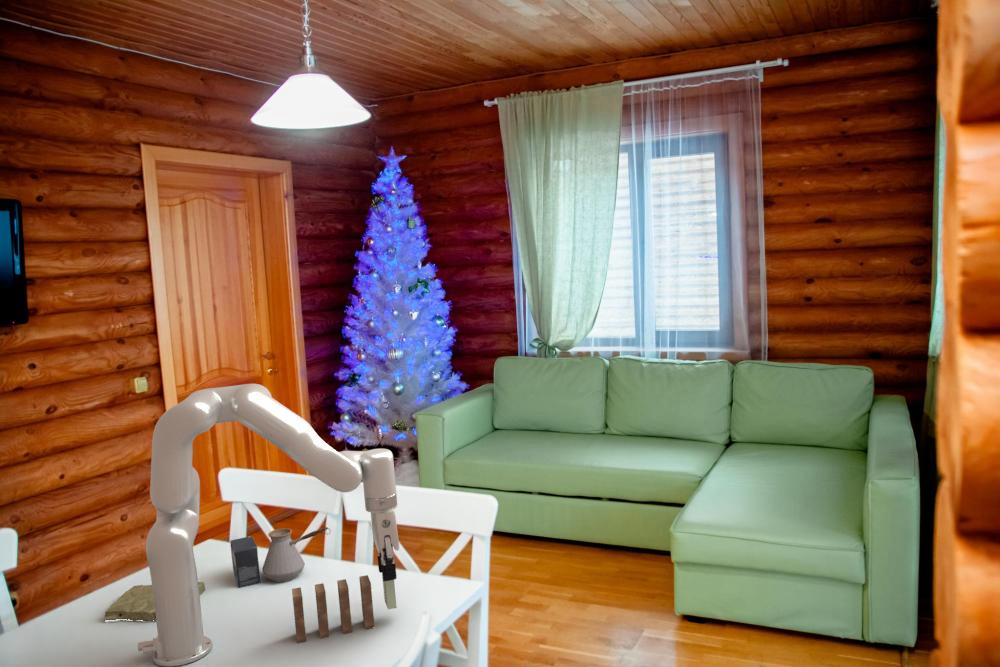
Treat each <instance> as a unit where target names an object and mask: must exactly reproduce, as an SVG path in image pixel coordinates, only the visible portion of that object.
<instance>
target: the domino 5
mask: <svg viewBox="0 0 1000 667" xmlns="http://www.w3.org/2000/svg"><path fill="white" fill-rule="evenodd" d="M382 564H383V563H382V558H381V565H382ZM382 584H383V585H382V586H383V597H384V598H383V599H384V603H385V606H386V607H387V608H386V609H387V610H388V611H389V610H392V609H396V608H397V597H396V587H395V580H389V581H383V580H382Z"/></svg>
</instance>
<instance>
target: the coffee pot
mask: <svg viewBox="0 0 1000 667" xmlns="http://www.w3.org/2000/svg"><path fill="white" fill-rule="evenodd" d="M327 530H329V533H327ZM323 532H325V535H330V534H331V528H329V527H328V526H325V527H323V528H319V529H318V530H314V531H311V532H310V533H307V534H305V535H303V536H301V537H298V538H296V539H294V540H293V539H292V537H291V535H292V534H293V530H292V529H291V528H285V527H284V528H276V529H273V530H272V531H270V532H268V534H267V535H268V537H269V538H270V540H271V541H270V544H269V548H268V551H267V553H266V556H265V560H264V563H263V566H262V573H263V575H264V577H266V578H267V579H269V580H270V581H271V582H272V583H273V582H274V583H284V582H289V581H292V580H294V579H296V578H297V577H299V575H300V574H301V573H302V572H303V570H304V568H305V561H304V559H303V557H302V555H301V553H300V552H299V550H298V548H297V547H296V545H295V544H297V543H298V542H301V541H304V540H306V539H310V538H312V537H315V536H316V535H318V534H322V533H323ZM298 574H299V575H298Z"/></svg>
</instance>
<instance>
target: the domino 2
mask: <svg viewBox="0 0 1000 667" xmlns="http://www.w3.org/2000/svg"><path fill="white" fill-rule="evenodd" d="M314 590H315V604H316V613H317V614H316V615H317V623H318V632H319V637H321V638H320V639H325V637H326V638H330V629H329V626H330V625H329V618H328V617H329V616H328V604H327V594H326V588H325V584H324V582H322V583H318V584H314Z"/></svg>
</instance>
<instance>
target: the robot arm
mask: <svg viewBox="0 0 1000 667" xmlns="http://www.w3.org/2000/svg"><path fill="white" fill-rule="evenodd" d="M230 422H239V423H240V424H242V425H243V426H244V427H246V428H247V429H249V430H250V431H252V432H254V433H255V434H256V435H259V436H260V437H261V438H262V439H264V440H266V441H267V442H269V443H270V444H272V445H273V446H275V447H276V448H277V449H279V450H280V451H282V452H284V454H286V455H287V456H288V457H289V458H290V459H291V460H292V461H294V462H295V463H296V464H298V465H299V466H300V467H301V468H303V469H304V470H305V471H306V472H308V474H310V475H312V476H313V477H314V478H315V479H317V480H318V481H320V482H322V483H323V484H325V486H328V487H330V488H331V489H333V490H335V491H337V492H340V493H351V492H352V491H353V492H354V490H356V489H357V488H358V487H360V485H361V484H362V483H363V484H362V485H363V495H364V497H363V498H364V504H365V511H366V512H368V513H370V518H371V520H370V521H371V530H372V537H373V541H374V542H373V543H374V545H375V547H376V549H377V566H378V567H377V568H378V572H379V573H381V575H382V582H383V581H389V580H394V581H395V580H396V579H397V568H396V561H395V554H394V553H395V552H394V551H400V543H399V542H400V541H399V534H398V532H399V531H398V525H397V519H396V514H395V513H396V512H395V509H396V508H398V497H397V485H396V474H395V462H394V454H393V452H392V451H391V450H390V449H388V448H373V449H369V450H362V451H361V450H342V451H337V450H336V449H334V447H332V446H330V445H329V444H328V443H326V442H325V441H324V439H322V438H321V437H320V436H319V435H318V433H317V432H316V431H315V429H314V428H313V427H312V425H311V424H310V423H309V422H308V421H307V420H305V419H304V418H303V417H302V416H299V414H296V412H294V411H292V410H291V409H289V408H288V407H286V406H285V405H284V404H282V403H280V402H279V401H278V400H276V399H275V398H273V397H272V394H271V392H270V391H269V390H268V388H267V387H266V386H264V385H262V384H258V383H244V384H239V385H238V384H237V385H228V386H221V387H220V386H219V387H211V388H204V389H199V390H196V391H193V392H192V393H190V395H188V396H187V397H186V398H185V399H184V400H182V401H180V402H179V403H177V404H175V405H173V406H172V407H170V408H169V409H167V410H166V411H165V412H163V414H162V415H161V416H160V417H159V419H158V420H157V422H156V424H155V426H154V430H153V433H152V442H151V444H152V445H151V462H150V483H149V484H150V486H149V498H150V502H151V504H152V505H153V507H154V508H155V509H156V520H155V522H154V524H152V527H151V528H150V529H149V532H148V534H147V536H146V541H145V554H146V559H147V563H148V568H149V573H150V578H151V579H150V580H151V585H152V589H153V596H154V604H155V613H156V621H155V622H156V630H157V636H156V637H154V638H152V639H151V640H145V641H140V642H137V650H138V652H142V655H146V654H150V653H152V660H153V663H154V664H155V665H158V666H161V667H178V666H182V665H183V666H184V665H187V664H190V663H191V664H192V663H193V662H196V661H198V660H200V659H201V658H203V657H205V656H206V655H208V654H209V652H211V650H212V648H213V641H212V640H211V638H210V637H208V636H206V635H205V634H204V628H203V627H204V625H203V617H202V607H201V596H199V586H198V582H199V578H198V569H197V565H196V558H195V553H194V542H195V539H196V536H197V534H198V531H199V526H200V502H201V501H200V499H201V497H200V496H201V493H200V492H201V481H200V480H201V479H200V476H199V473H198V471H197V470H196V468H195V467H194V466H193V456H194V450H193V442H194V440H195V438H196V437H197V436H198V435H200V434H203V433H206V432H207V431H209V430H210V429H212V427H213V426H214V425H215V424H221V423H230ZM361 482H362V483H361ZM381 558H382V563H383V564H382V565H381Z"/></svg>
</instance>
